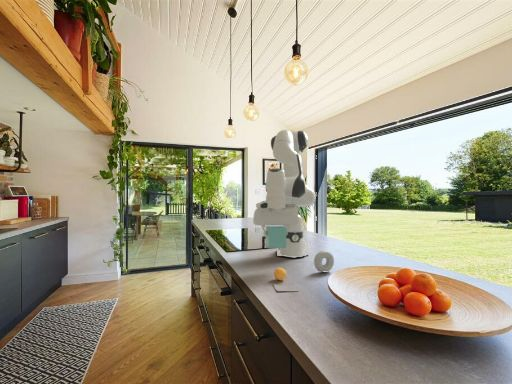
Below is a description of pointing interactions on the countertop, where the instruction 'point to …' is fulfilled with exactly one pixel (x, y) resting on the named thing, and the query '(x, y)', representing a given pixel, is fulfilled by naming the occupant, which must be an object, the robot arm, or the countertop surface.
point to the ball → (280, 274)
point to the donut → (329, 261)
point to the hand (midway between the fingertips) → (275, 234)
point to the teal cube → (276, 237)
